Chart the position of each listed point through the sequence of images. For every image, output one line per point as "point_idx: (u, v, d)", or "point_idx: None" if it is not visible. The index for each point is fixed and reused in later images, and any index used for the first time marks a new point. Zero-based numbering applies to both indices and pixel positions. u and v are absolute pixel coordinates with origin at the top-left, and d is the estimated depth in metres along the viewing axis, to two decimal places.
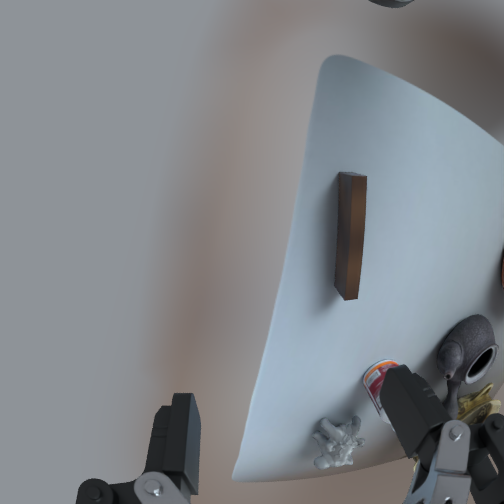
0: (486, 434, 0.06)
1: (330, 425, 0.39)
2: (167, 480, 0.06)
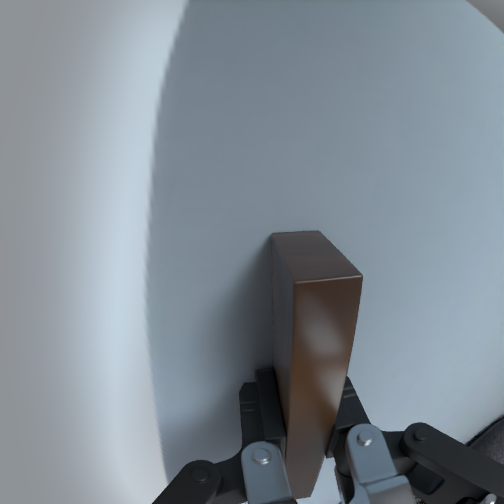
0: (404, 444, 0.06)
1: None
2: (274, 447, 0.07)
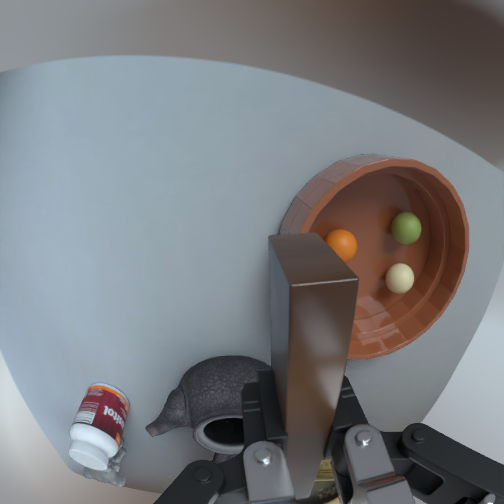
0: (403, 445, 0.06)
1: None
2: (276, 447, 0.07)
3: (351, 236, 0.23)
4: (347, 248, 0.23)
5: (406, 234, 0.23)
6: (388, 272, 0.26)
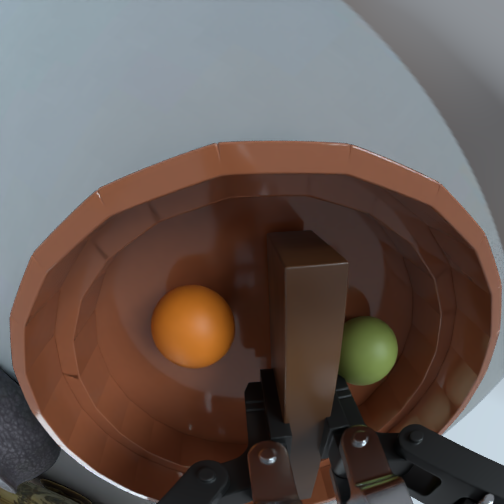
0: (399, 446, 0.06)
1: None
2: (280, 446, 0.07)
3: (224, 323, 0.09)
4: (195, 346, 0.08)
5: (365, 361, 0.10)
6: None
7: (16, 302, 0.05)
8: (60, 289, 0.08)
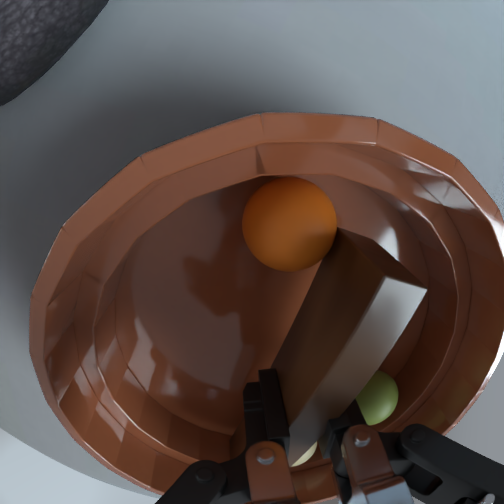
0: (401, 445, 0.06)
1: None
2: (278, 447, 0.07)
3: (281, 187, 0.08)
4: None
5: None
6: None
7: (471, 177, 0.05)
8: (399, 167, 0.08)
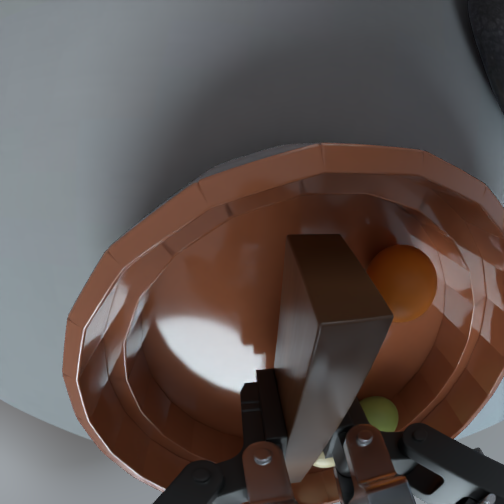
0: (403, 445, 0.06)
1: None
2: (275, 447, 0.07)
3: (429, 268, 0.09)
4: (429, 302, 0.09)
5: None
6: None
7: (485, 403, 0.09)
8: (466, 367, 0.11)
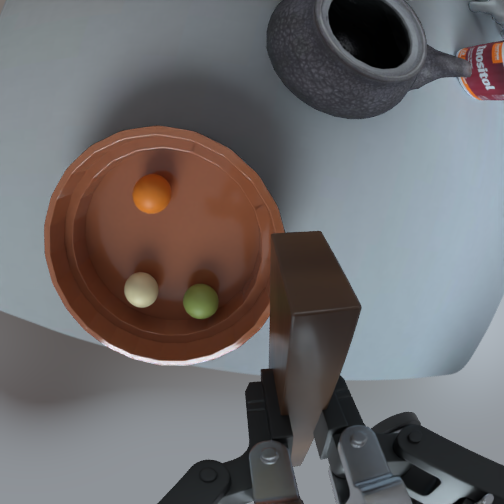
0: (398, 446, 0.06)
1: None
2: (281, 446, 0.07)
3: None
4: None
5: None
6: (146, 296, 0.22)
7: None
8: None
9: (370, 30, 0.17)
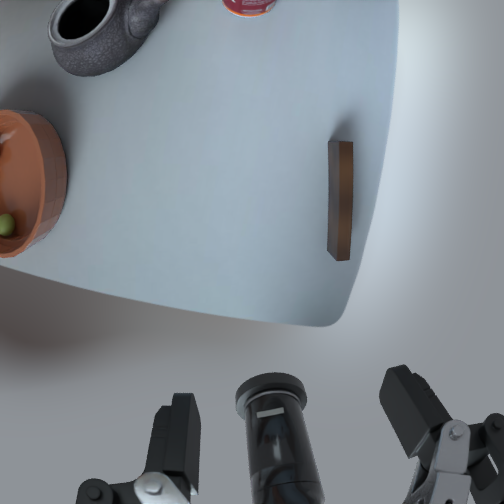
0: (486, 434, 0.06)
1: None
2: (167, 480, 0.06)
3: None
4: None
5: None
6: None
7: (44, 187, 0.24)
8: None
9: None
